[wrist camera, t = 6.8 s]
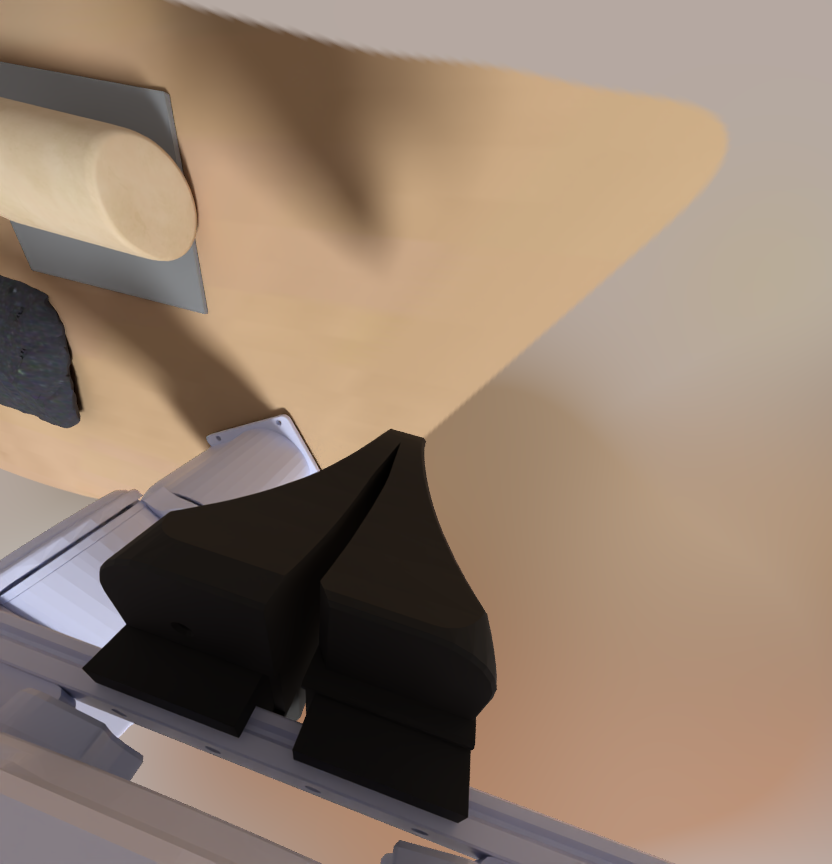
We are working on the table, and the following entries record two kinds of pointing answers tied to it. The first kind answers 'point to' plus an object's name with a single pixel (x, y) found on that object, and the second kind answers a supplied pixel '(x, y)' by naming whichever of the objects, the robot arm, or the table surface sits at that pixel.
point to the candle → (93, 183)
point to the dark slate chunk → (34, 356)
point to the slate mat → (87, 260)
